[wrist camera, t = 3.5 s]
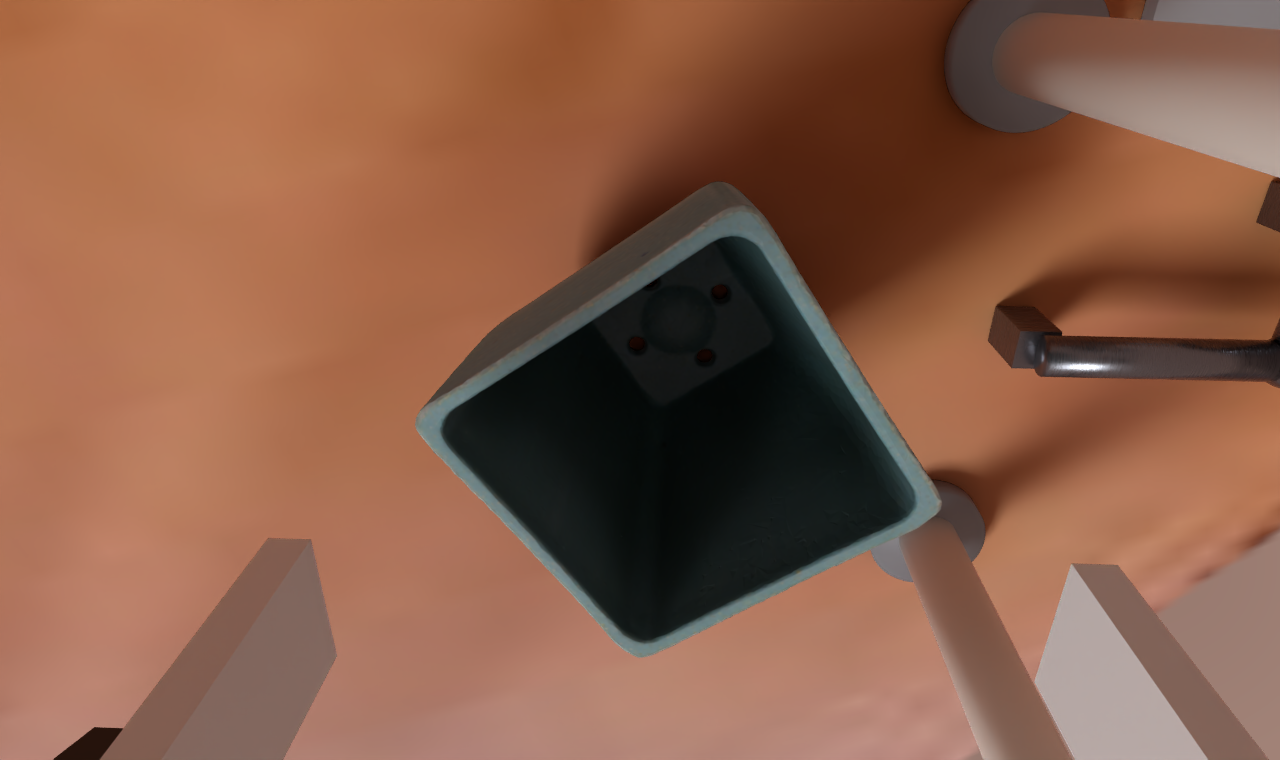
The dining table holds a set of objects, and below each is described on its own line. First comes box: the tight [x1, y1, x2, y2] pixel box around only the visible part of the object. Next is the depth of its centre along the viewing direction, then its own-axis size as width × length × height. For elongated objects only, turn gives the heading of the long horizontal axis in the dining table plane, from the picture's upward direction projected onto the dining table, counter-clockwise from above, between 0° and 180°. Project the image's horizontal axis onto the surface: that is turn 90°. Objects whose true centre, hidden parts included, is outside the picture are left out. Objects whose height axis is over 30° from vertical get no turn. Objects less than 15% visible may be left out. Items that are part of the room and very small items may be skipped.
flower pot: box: [415, 182, 942, 658], centre depth 21 cm, size 9×9×9 cm
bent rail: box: [988, 182, 1280, 388], centre depth 22 cm, size 8×5×3 cm, turn 90°
